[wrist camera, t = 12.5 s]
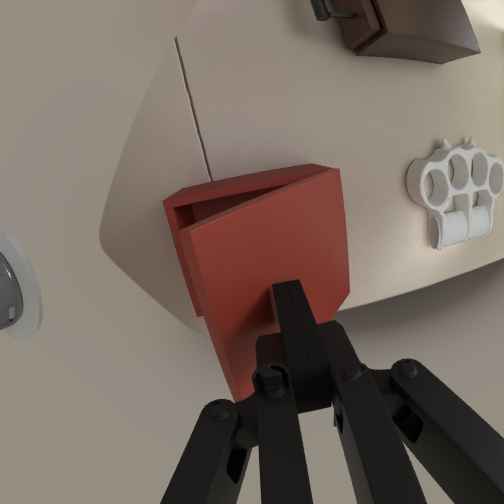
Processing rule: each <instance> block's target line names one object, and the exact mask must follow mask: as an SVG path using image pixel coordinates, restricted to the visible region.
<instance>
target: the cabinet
mask: <svg viewBox="0 0 504 504" xmlns="http://www.w3.org/2000/svg"><path fill="white" fill-rule="evenodd" d="M373 3H374V5H375V8H376V10H377V13H378V16H379V19H380V21H381V24H382V27H383V28H382V29H381V30H380V31H379V32H378V33H376V34H375V35H374V36H372V37H371V38H370V39H369V40H367V41H366V42H365V43H364V44H362V45H361V46H360V47H359V48H357V49H354V50H355V53H356V56H376V57H390V58H401V59H409V60H417V61H424V62H431V63H437V64H444V63H447V62H450V61H453V60H457V59H460V58H464V57H468V56H471V55H475V54H479V53H481V52H480V49H479V46H478V43H477V40H476V37H475V34H474V31H473V29H472V26H471V23H470V21H469V18H468V16H467V13H466V11H465V9H464V6H463V4H462V2H461V0H373Z"/></svg>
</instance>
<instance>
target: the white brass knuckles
mask: <svg viewBox="0 0 504 504" xmlns="http://www.w3.org/2000/svg"><path fill="white" fill-rule="evenodd" d="M449 159H451V161H452V164H453V168H454V176H453V179H452V181H451V183H450V179H449V176H448V171H447V166H448V162H449ZM472 159H473V173H472V177H471V163H472ZM429 171H430V173H431V176H432V179H433V182H434V190H433V193H432V195H431V197H430V198H429V199H427V197H426V194H425V191H424V180H425V177H426V175H427V173H428V172H429ZM406 185H407V190H408V193H409V195H410V197H411V198H412V199H413V200H414V201H415V202H416V203H418V204H420V205H422V206H424V207H426V209H427V210H428V212H429V240H430V244H431V247H432V248H433V249H434V250H435V249H437V250H441V249H442V247H446V246H449V245H452V244H456V243H459V242H462V241H463V242H466V241H467V240H469V239H472V238H475V237H478V236H481V235H488V233H489V232H490V231H491V229H492V225H493V214H494V204H495V201H496V198H497V197H498V196H499V195H500V194H501V193H502V191H503V188H504V165H503V162H502V161H501V159H500V158H499V157H498V156H497V155H491V154H486V153H485V152H484V150H483V149H481V148H479V147H476V145H475V142H474V140H473V137H472V136H471V138H470V140H469V141H468V143H467V145H462V144H460V145H459V146H451V145H450V144H449V143H448V141H447V140H446V139H445V138H444V137H443V139H442V147H440V148H438V149H436V150H435V151H434V153H433V154H432V155H431V156H430V157H429V158H428V159H425V160H420V159H416V160H414V161H413V163H412V164H411V165H410V167H409V169H408V172H407V177H406ZM476 191H477V192H478V194H479V198H478V201H477V206H475V207H472V197H473V194H474V192H476ZM454 195H455V211H453V212H449V213H445V214H444V208H445V206H446V205H447V204H448V202H449V200H450V198H451V196H454Z"/></svg>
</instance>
